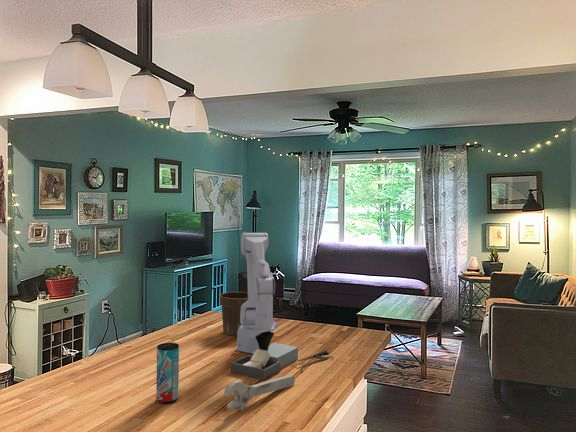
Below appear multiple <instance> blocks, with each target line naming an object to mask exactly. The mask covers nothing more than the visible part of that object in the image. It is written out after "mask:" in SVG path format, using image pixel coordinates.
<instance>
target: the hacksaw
mask: <svg viewBox="0 0 576 432" xmlns="http://www.w3.org/2000/svg"><path fill="white" fill-rule="evenodd" d="M329 353H330V352H329V351H328V350H323V351H321V352H319V353H315V354H313V355H311V356H310V355H309V356H308V357H304V358H300V359H296V362H303V361H306V360H308V359H313V358H317V359H316V360H314V361H312V362H311V361H310V362H309V363H308V362H307V363H306V364H303V365H301V366H299V367H296V366H294V365H290V367H291V368H295V369H297V370H300V371H301V372H299V373H298V372H297V373H295V374H303V373H304V371H303V368H307V366H310V365H313V364H317V363H320V362H323V361H326V360H329V358H332V360H333V359H335V357H334V356H333V355H332V356H331V355H329ZM327 355H329V356H327ZM292 374H294V372H292Z"/></svg>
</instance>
